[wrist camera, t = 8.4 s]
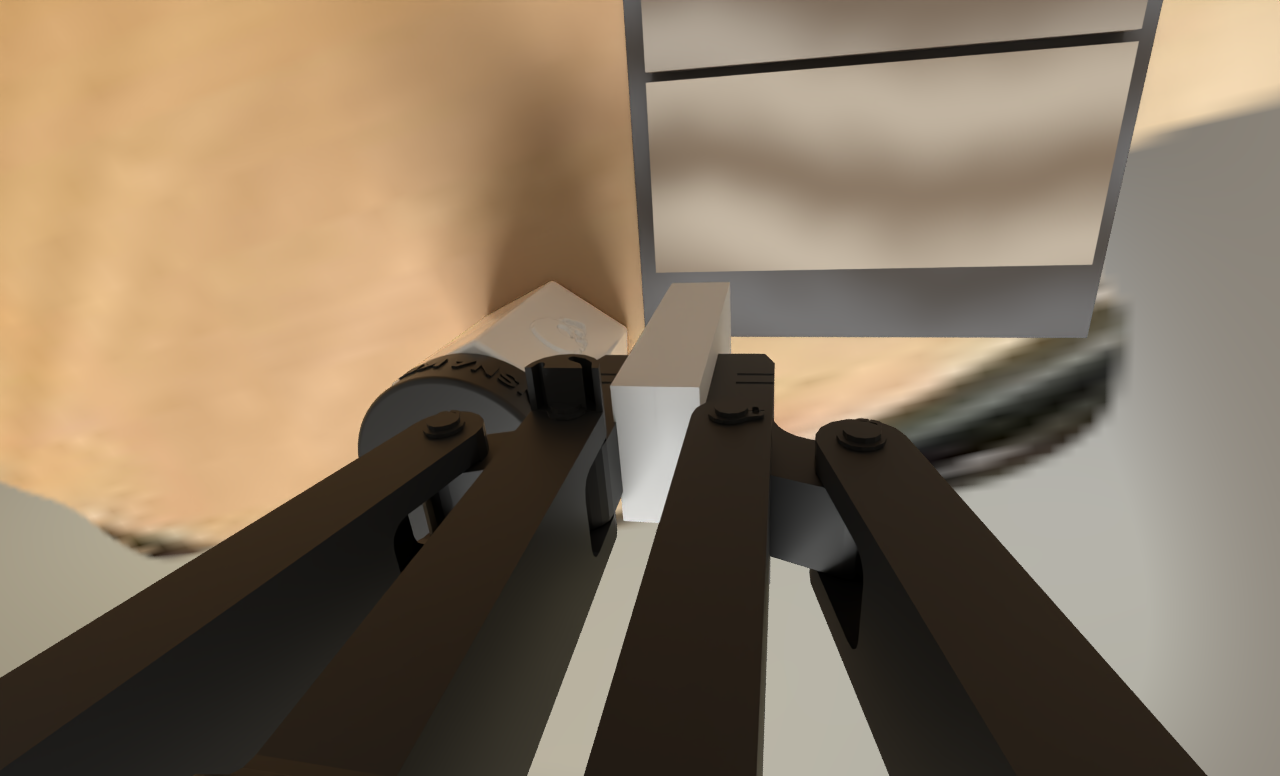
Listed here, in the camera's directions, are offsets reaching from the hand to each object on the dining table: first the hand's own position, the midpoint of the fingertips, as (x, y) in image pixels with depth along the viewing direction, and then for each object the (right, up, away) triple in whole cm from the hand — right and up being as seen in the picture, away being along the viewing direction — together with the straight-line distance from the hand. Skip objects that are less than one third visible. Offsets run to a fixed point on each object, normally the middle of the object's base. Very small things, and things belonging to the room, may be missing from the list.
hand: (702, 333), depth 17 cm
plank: (+8, +8, +10) cm, 15 cm away
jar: (-6, 0, +18) cm, 19 cm away
